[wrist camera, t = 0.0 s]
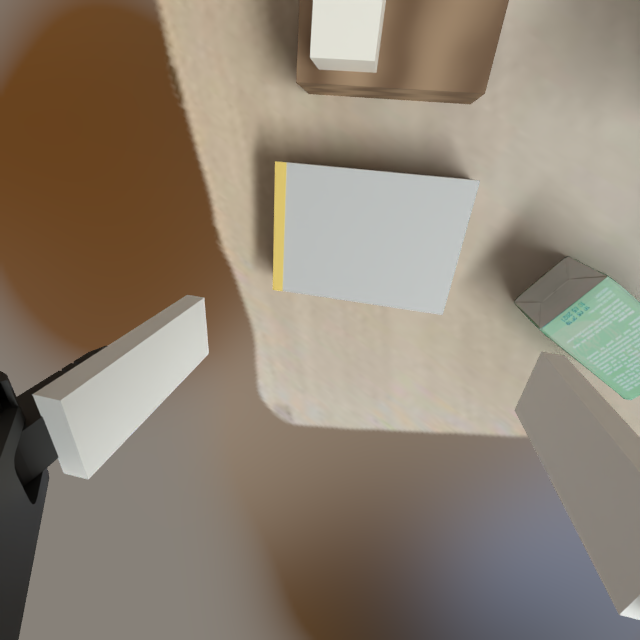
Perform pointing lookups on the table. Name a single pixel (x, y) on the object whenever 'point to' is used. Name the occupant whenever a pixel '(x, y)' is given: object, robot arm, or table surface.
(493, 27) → the notched wooden block
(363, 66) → the small white block
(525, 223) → the table surface
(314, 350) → the table surface
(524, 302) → the box
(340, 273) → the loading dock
